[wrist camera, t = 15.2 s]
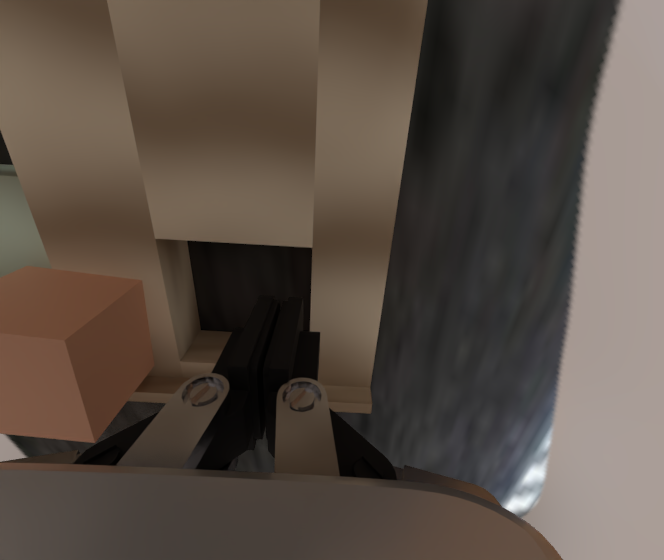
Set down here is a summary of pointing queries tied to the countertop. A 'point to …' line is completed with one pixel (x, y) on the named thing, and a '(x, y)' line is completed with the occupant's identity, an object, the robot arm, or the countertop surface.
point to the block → (69, 351)
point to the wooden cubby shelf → (211, 156)
